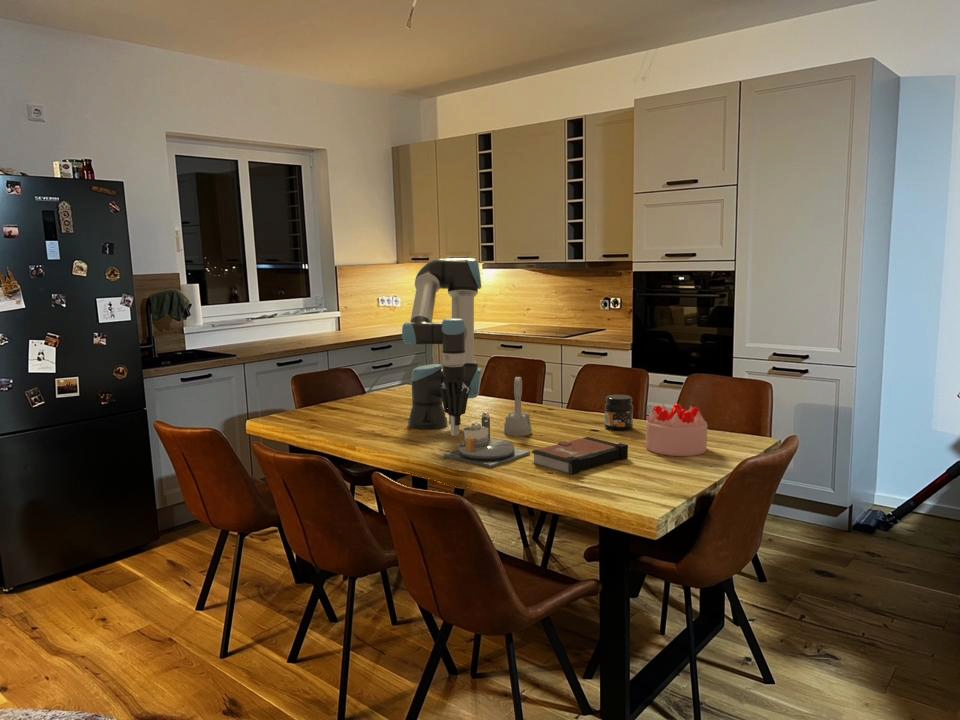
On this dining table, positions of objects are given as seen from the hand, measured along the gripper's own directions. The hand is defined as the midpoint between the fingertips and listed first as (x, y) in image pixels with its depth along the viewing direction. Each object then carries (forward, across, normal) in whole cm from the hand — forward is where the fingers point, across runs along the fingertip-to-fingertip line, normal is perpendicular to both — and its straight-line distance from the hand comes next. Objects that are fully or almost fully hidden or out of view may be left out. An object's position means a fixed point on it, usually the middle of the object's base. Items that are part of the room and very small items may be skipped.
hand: (455, 434), depth 245 cm
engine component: (+5, +2, +32) cm, 33 cm away
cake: (+5, +58, +46) cm, 74 cm away
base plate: (+5, +14, 0) cm, 15 cm away
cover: (+2, +10, 0) cm, 10 cm away
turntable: (+4, +14, 0) cm, 14 cm away
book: (+6, +41, +14) cm, 43 cm away
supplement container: (+5, +28, +60) cm, 66 cm away
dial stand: (+4, +7, +7) cm, 11 cm away
